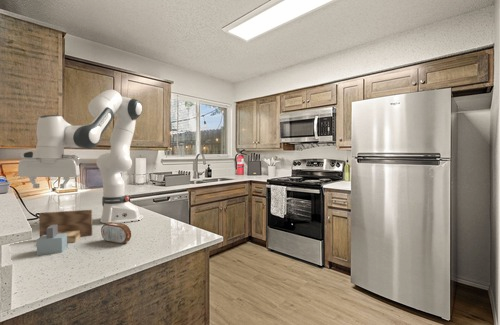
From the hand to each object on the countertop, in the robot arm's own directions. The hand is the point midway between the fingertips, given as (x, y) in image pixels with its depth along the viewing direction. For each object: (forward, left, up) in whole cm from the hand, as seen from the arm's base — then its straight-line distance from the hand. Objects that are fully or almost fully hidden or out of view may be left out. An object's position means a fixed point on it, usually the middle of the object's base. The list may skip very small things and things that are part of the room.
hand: (49, 188), depth 102 cm
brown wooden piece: (-2, -9, -25) cm, 26 cm away
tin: (-24, +1, -25) cm, 35 cm away
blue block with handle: (-2, +4, -25) cm, 25 cm away
